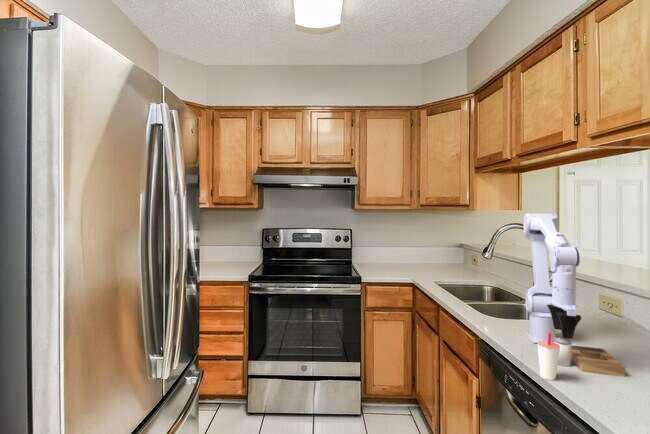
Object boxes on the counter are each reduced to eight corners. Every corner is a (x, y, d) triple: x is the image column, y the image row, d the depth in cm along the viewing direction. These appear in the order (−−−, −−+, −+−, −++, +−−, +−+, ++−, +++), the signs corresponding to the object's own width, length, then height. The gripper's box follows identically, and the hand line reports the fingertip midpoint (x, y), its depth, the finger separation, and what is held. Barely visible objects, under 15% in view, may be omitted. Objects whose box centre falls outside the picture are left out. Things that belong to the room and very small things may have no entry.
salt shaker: (551, 359, 107) (552, 336, 107) (568, 361, 105) (568, 338, 105) (556, 365, 103) (556, 341, 103) (573, 367, 101) (573, 343, 101)
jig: (565, 353, 112) (566, 343, 112) (603, 357, 109) (603, 347, 109) (581, 371, 99) (581, 360, 99) (624, 376, 96) (624, 365, 96)
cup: (564, 381, 93) (565, 336, 93) (545, 382, 93) (546, 336, 92) (550, 372, 99) (550, 329, 98) (531, 372, 98) (532, 329, 98)
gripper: (541, 281, 112) (540, 324, 112) (555, 291, 98) (554, 340, 98) (567, 283, 110) (566, 326, 110) (585, 293, 96) (584, 343, 96)
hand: (562, 333), depth 104 cm, fingers open, 7 cm apart
